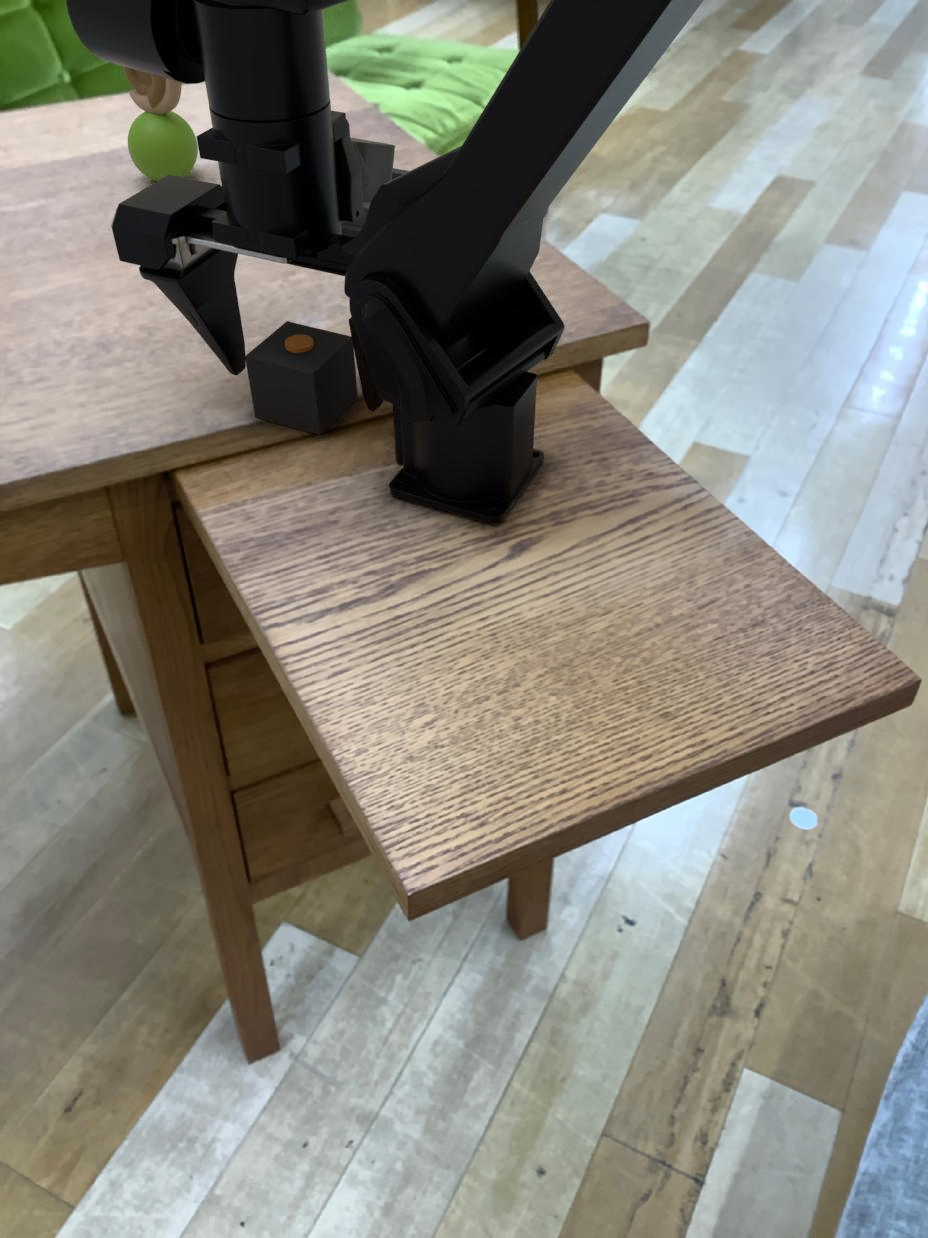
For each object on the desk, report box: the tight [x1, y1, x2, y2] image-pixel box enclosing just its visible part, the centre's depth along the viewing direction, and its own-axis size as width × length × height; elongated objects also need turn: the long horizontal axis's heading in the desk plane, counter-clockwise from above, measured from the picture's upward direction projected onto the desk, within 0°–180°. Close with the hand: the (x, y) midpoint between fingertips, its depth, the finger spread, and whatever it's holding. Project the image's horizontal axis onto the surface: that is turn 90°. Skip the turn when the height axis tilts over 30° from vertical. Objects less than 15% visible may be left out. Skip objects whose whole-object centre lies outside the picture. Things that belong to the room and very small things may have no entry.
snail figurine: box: [122, 66, 199, 182], centre depth 81 cm, size 5×6×12 cm
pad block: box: [245, 320, 359, 436], centre depth 59 cm, size 4×4×4 cm
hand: (305, 388), depth 60 cm, fingers open, 9 cm apart
